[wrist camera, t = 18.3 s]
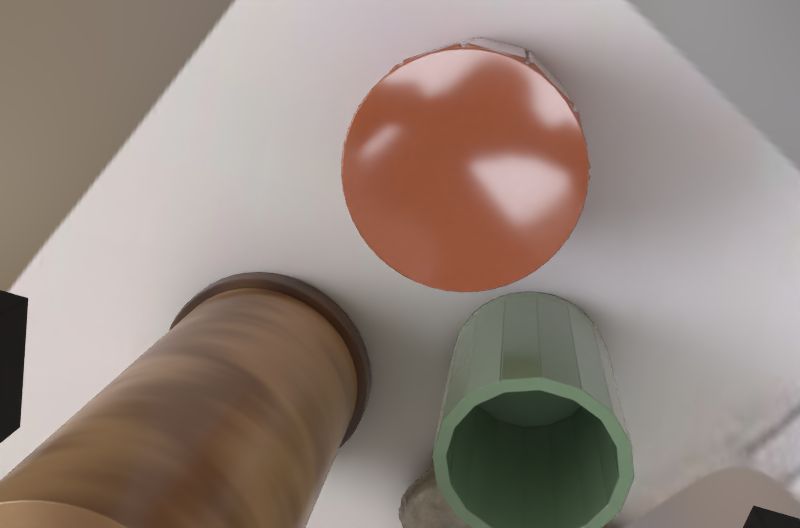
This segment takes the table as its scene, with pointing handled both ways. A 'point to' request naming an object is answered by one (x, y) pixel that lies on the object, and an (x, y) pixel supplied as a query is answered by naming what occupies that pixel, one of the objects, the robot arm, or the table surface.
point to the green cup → (532, 420)
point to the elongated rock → (427, 506)
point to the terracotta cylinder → (466, 166)
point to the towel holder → (208, 420)
